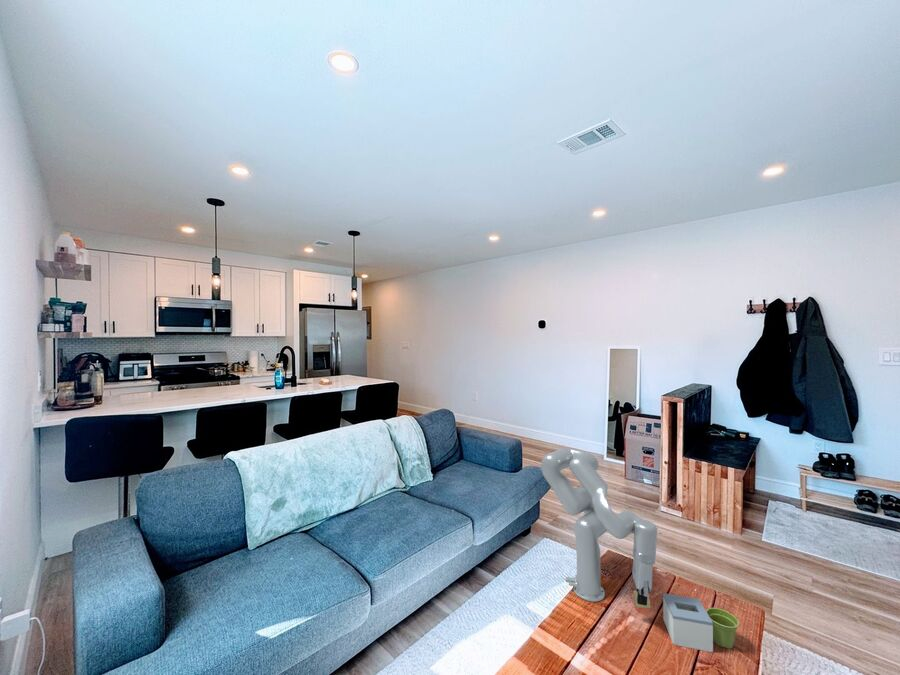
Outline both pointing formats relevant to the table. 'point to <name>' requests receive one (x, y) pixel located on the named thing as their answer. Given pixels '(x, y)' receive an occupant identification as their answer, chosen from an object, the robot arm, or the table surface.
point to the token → (639, 604)
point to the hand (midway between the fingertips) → (641, 601)
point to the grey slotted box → (687, 622)
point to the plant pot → (723, 627)
